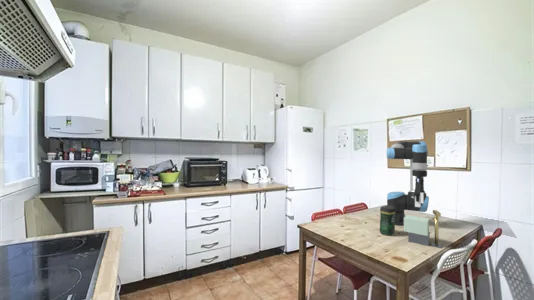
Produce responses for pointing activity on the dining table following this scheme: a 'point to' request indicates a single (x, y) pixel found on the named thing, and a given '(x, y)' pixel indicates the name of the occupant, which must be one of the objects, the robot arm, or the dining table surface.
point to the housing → (421, 239)
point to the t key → (436, 224)
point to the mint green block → (416, 225)
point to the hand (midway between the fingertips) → (419, 204)
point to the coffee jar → (387, 220)
